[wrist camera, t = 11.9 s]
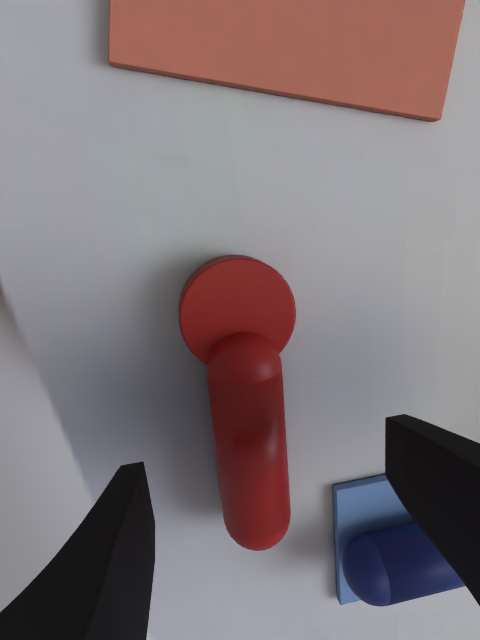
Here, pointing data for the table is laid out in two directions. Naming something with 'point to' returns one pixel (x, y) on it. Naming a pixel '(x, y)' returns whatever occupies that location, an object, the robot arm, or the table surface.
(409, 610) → the table surface
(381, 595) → the blue spoon
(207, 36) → the mat
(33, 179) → the table surface
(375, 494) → the blue mat
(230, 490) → the red spoon
